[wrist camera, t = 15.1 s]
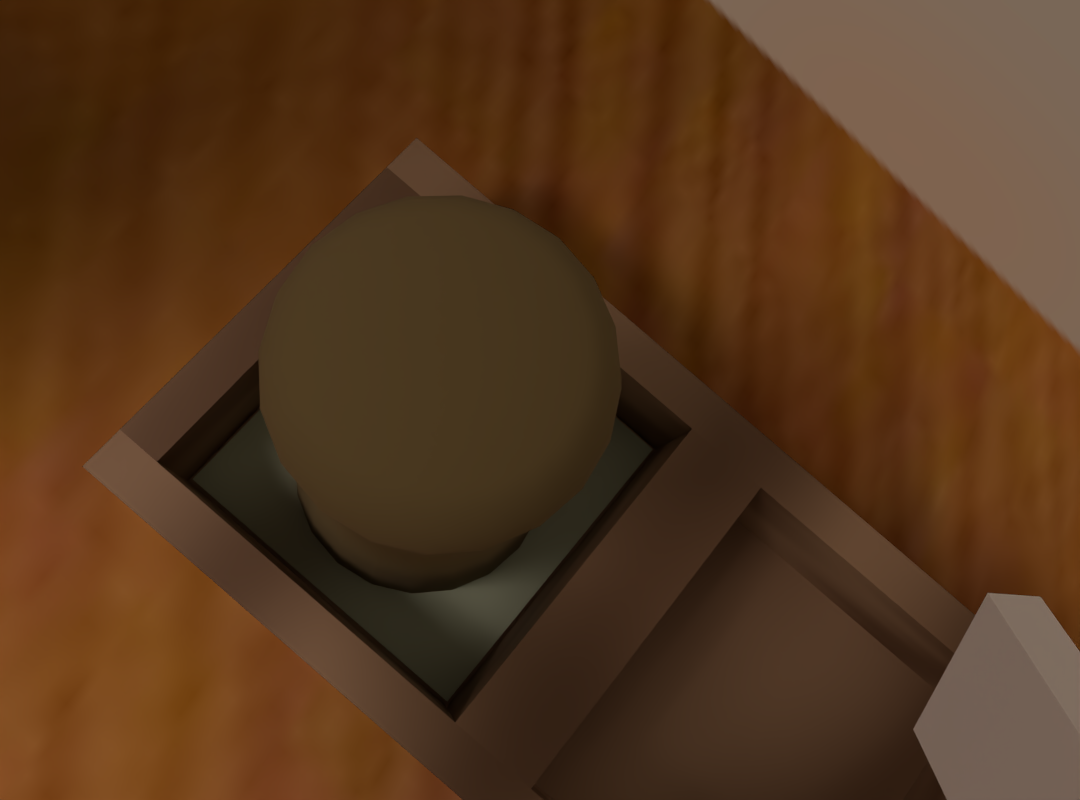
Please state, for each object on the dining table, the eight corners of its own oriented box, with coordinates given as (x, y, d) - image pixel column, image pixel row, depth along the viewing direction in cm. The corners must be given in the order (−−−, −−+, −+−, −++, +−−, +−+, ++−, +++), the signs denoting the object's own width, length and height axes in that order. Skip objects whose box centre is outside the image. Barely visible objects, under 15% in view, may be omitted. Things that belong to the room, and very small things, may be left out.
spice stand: (140, 492, 23) (82, 466, 19) (412, 216, 26) (416, 137, 22) (761, 1035, 23) (847, 1136, 18) (975, 699, 25) (1096, 719, 21)
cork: (465, 301, 24) (524, 56, 13) (594, 507, 23) (764, 424, 13) (247, 422, 22) (114, 254, 12) (377, 644, 22) (361, 681, 11)
